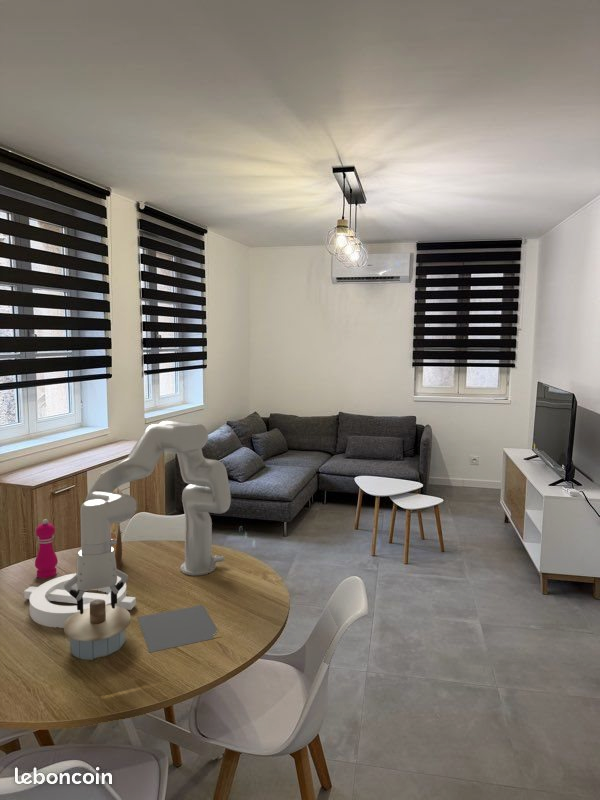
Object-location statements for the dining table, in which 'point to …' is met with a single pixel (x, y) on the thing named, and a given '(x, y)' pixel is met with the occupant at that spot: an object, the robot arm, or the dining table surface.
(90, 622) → the lid
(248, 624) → the dining table surface
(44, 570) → the pepper mill
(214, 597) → the dining table surface
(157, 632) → the mat
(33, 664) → the dining table surface
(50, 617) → the ring with crossbar
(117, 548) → the pancake mix bag
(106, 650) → the bowl
